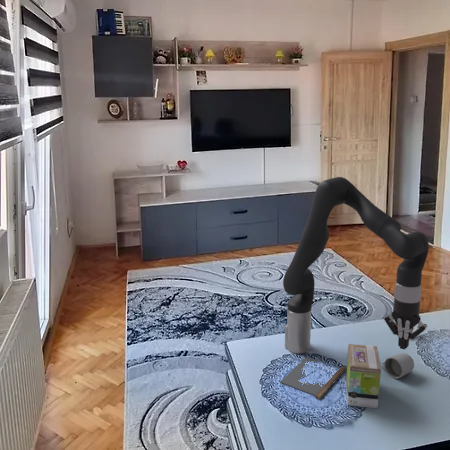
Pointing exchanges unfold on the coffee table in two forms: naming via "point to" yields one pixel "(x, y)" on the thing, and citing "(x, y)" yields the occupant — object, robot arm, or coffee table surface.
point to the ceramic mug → (398, 365)
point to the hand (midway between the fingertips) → (403, 348)
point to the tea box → (363, 376)
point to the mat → (297, 374)
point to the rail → (329, 383)
